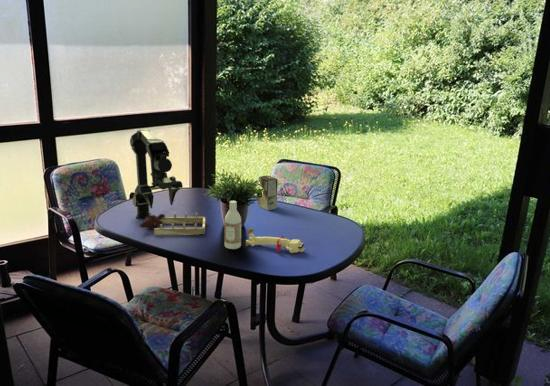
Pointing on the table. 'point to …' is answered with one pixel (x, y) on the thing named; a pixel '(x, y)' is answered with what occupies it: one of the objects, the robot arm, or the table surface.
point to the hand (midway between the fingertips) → (161, 206)
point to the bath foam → (232, 227)
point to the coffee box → (268, 193)
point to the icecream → (152, 221)
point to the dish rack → (181, 221)
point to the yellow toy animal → (275, 242)
